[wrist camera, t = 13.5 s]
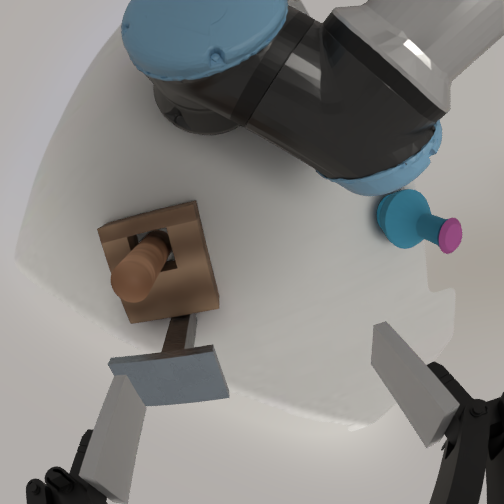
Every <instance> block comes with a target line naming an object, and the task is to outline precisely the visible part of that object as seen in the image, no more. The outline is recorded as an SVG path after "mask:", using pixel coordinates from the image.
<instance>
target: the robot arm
mask: <svg viewBox="0 0 504 504" xmlns="http://www.w3.org/2000/svg"><path fill="white" fill-rule="evenodd" d="M314 21H315V19H313V18H311V17H309V16H307V15H306V14H304V13H302V12H300V11H298V10H296V9H295V8H293V7H291V6H289V5H288V3H287V0H131V1H130V3H129V4H128V6H127V9H126V11H125V13H124V16H123V20H122V26H121V29H122V31H121V33H122V39H123V43H124V46H125V48H126V50H127V52H128V54H129V56H130V59H131V60H132V62H133V64H134V65H135V66H136V67H137V69H138V70H139V71H142V72H143V73H144V74H145V75H146V76H147V77H148V78H149V79H150V80H151V81H152V82H153V84H154V96H155V100H156V103H157V105H158V107H159V109H160V111H161V112H162V113H163V115H164V116H165V117H166V118H167V119H168V120H169V121H170V122H172V123H173V124H174V125H175V126H177V127H178V128H180V129H182V130H184V131H187V132H190V133H193V134H199V135H216V134H221V133H225V132H228V131H231V130H233V129H235V128H237V127H239V126H240V125H242V126H243V127H245V128H246V129H248V130H250V131H252V132H253V133H255V134H257V135H259V136H261V137H262V138H264V139H266V140H268V141H269V142H271V143H273V144H275V145H276V146H278V147H280V148H282V149H283V150H285V151H287V152H288V153H290V154H292V155H293V156H295V157H297V158H298V159H300V160H301V161H303V162H305V163H306V164H308V165H309V166H311V167H313V168H314V169H315V170H316V172H317V173H318V174H319V175H321V176H322V177H323V178H325V179H328V180H330V181H332V182H336V183H338V184H339V185H341V186H343V187H344V188H346V189H347V190H349V191H351V192H353V193H356V194H359V195H363V196H379V195H384V194H387V193H390V192H393V191H395V190H398V189H400V188H402V187H403V186H405V185H407V184H409V183H410V182H411V181H413V180H414V179H415V178H417V177H418V176H419V175H420V174H421V173H422V172H423V171H424V170H425V169H426V168H427V167H428V165H429V164H430V159H429V157H430V156H431V155H434V154H436V153H437V151H438V149H439V147H440V144H441V140H442V127H441V124H440V120H439V119H440V118H442V117H443V116H444V115H445V114H446V113H448V112H449V111H450V87H451V83H452V81H453V80H454V79H455V78H456V77H457V76H458V75H460V74H461V73H462V72H463V71H464V70H465V69H466V68H467V67H469V66H470V65H471V64H472V63H473V62H474V61H475V60H476V59H477V58H479V56H481V55H482V54H483V53H484V52H485V51H486V50H488V48H490V47H491V46H492V45H493V44H494V43H495V42H496V41H498V40H499V39H500V38H501V37H502V36H503V35H504V0H368V1H367V2H366V3H364V4H363V5H361V6H350V7H338V8H335V9H333V10H332V12H331V13H330V15H329V16H328V17H327V18H326V20H325V21H324V22H323V23H320V22H318V21H315V22H314ZM292 52H293V53H292ZM283 65H284V66H283ZM270 85H271V86H270ZM268 88H269V89H268ZM248 120H249V121H248ZM247 122H248V123H247ZM245 125H246V126H245ZM371 365H372V366H373V368H374V369H375V370H376V372H377V373H378V375H379V376H380V378H381V379H382V381H383V382H384V384H385V385H386V387H387V388H388V390H389V391H390V393H391V394H392V396H393V397H394V399H395V400H396V402H397V403H398V405H399V406H400V408H401V409H402V411H403V412H404V414H405V415H406V417H407V418H408V420H409V422H410V423H411V424H412V426H413V428H414V429H415V431H416V432H417V434H418V435H419V437H420V439H421V440H422V442H423V443H424V445H425V447H426V448H429V447H430V446H432V445H434V444H436V443H437V442H439V441H440V440H441V438H442V437H443V435H444V434H445V436H446V437H447V440H446V442H445V443H444V445H443V446H442V449H441V450H443V449H444V448H445V449H444V454H443V458H442V462H441V467H440V470H439V474H438V478H437V481H436V485H435V488H434V491H433V494H432V497H431V500H430V503H429V504H478V503H479V499H480V494H481V490H482V485H483V479H484V474H485V468H486V483H487V504H504V392H503V394H502V396H501V397H499V398H497V399H494V400H491V401H488V402H485V401H484V400H480V399H473V398H472V397H471V396H470V395H469V394H468V393H467V392H466V391H465V389H464V388H463V387H462V386H461V385H460V384H459V383H458V382H457V381H456V380H455V379H454V377H453V376H452V375H451V374H449V372H448V371H447V370H446V369H445V368H444V366H442V365H440V364H438V363H436V362H432V363H430V364H428V365H426V364H425V363H424V362H423V361H422V360H421V359H420V358H419V357H418V355H417V354H416V353H415V352H414V351H413V350H412V349H411V348H410V347H409V345H408V344H407V343H406V342H405V341H404V340H403V339H402V338H401V337H400V336H399V335H398V334H397V332H396V331H395V330H394V329H393V328H392V327H391V326H390V325H389V324H388V323H387V322H386V321H385V322H382V323H379V324H376V325H374V328H373V344H372V356H371ZM145 412H146V406H145V405H144V403H143V402H142V400H141V398H140V397H139V395H138V394H137V392H136V390H135V389H134V387H133V385H132V383H131V382H130V380H129V378H128V377H127V375H115V376H114V378H113V381H112V383H111V386H110V388H109V391H108V393H107V396H106V398H105V401H104V403H103V406H102V409H101V411H100V414H99V417H98V419H97V422H96V425H95V428H94V430H87V432H86V433H85V434H84V435H83V436H82V439H81V442H80V444H79V445H80V446H79V447H78V450H77V453H76V456H75V458H74V461H73V464H72V467H71V470H70V473H67V472H66V471H65V470H64V469H62V468H61V467H52V468H51V469H49V470H48V471H47V473H46V475H45V483H46V484H45V483H43V482H42V481H41V480H39V479H32V480H30V481H29V482H28V484H27V486H26V498H27V504H107V502H106V500H107V498H109V499H110V500H112V501H113V502H116V503H122V504H128V499H129V493H130V487H131V481H132V475H133V469H134V465H135V459H136V454H137V449H138V444H139V439H140V435H141V430H142V426H143V421H144V416H145Z"/></svg>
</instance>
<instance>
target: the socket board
mask: <svg viewBox="0 0 504 504" xmlns="http://www.w3.org/2000/svg"><path fill="white" fill-rule="evenodd" d="M165 227H166V228H167V232H168V236H169V239H170V243H171V247H172V250H173V254H174V258H175V260H174V261H169V262H165V264H164V266H163V268H162V269H161V271H160V273H159V275H158V277H157V279H156V281H155V283H154V284H153V286H152V288H151V290H150V292H149V294H148V296H147V297H146V298H145V299H144V300H142V301H140V302H136V303H132V302H127V301H124V300H123V299H121V298H120V299H121V301H122V304H123V306H124V309H125V311H126V314H127V316H128V318H129V321H130V323H131V324H132V323H139V322H145V321H151V320H158V319H164V318H170V317H175V316H181V315H187V314H192V313H198V312H203V311H208V310H214V309H219V293H218V289H217V285H216V281H215V278H214V274H213V270H212V266H211V262H210V258H209V254H208V250H207V245H206V241H205V237H204V233H203V229H202V224H201V220H200V216H199V211H198V207H197V202H196V200H195V201H191V202H187V203H182V204H178V205H174V206H170V207H166V208H162V209H158V210H154V211H150V212H146V213H142V214H138V215H135V216H131V217H127V218H124V219H120V220H116V221H113V222H109V223H107V224H105V225H103V226H102V227H100V228H98V229H97V230H98V234H99V237H100V240H101V244H102V247H103V250H104V253H105V256H106V259H107V262H108V265H109V268H110V271H111V274H112V272H113V270H114V268H115V267H116V266H117V265H118V264H119V263H120V262H121V261H122V260H123V259H124V258H125V257H126V256H127V255H128V254H129V253H130V252H131V251H132V250H133V249H134V248H135V247H136V246H137V245H138V244H139V242H138V238H137V235H136V234H140V233H144V232H148V231H153V230H157V229H161V228H165Z"/></svg>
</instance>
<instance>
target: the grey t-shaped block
mask: <svg viewBox="0 0 504 504" xmlns="http://www.w3.org/2000/svg"><path fill="white" fill-rule="evenodd" d="M196 326H197V317H196V314H195V313H192V314H187V315H181V316H175V317H171V321H170V324H169V327H168V331H167V334H166V338H165V342H164V345H163V349H162V352H160V353H152V354H144V355H136V356H125V357H115V358H111V359H110V361H109V363H108V366H109V367H110V369H111V371H112V373H113V374H114V376H115V375H127V377H128V378H129V380H130V382H131V383H132V385H133V387H134V389H135V390H136V392H137V394H138V395H139V397H140V398H141V400H142V402H143V403H144V405H145V406H158V405H171V404H182V403H193V402H200V401H209V400H216V399H223V398H229V389H228V386H227V383H226V381H225V378H224V375H223V372H222V369H221V366H220V363H219V361H218V358H217V355H216V352H215V349H214V346H213V345H207V346H201V347H195V348H194V342H195V334H196Z"/></svg>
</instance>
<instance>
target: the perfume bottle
mask: <svg viewBox="0 0 504 504" xmlns="http://www.w3.org/2000/svg"><path fill="white" fill-rule="evenodd" d="M377 221H378V224H379V226H380V227H381V229H382V230H383V232H384V233H385V235H386V237H387V238H388V240H389V241H390V242H391V243H393V244H394V245H395V246H397V247H399V248H403V249H407V248H411V247H414V246H415V245H417V244H418V243H420V242H421V241H422V240H423V239H426V240H428V241H430V242H432V243H434V244H437V245H438V246H439V247H440V249H441V251H442V252H444V253H446V254H448V253H452V252H453V251H454V250H455V249H456V248H457V247H458V246H459V244H460V242H461V239H462V229H461V224H460V223H459V221H458V220H457V219H456V218H450V219H443V218H440V217H437V216H434V215H432V214H431V212H430V208H429V205H428V203H427V200H426V199H425V197H424V196H423V195H422V194H421V193H420V192H418V191H416V190H411V189H404V190H401V191H398V192H396V193H393V194H390V195H388V196H386V197H385V198H383V199H382V201H381V202H380V204H379V206H378V209H377Z"/></svg>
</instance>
